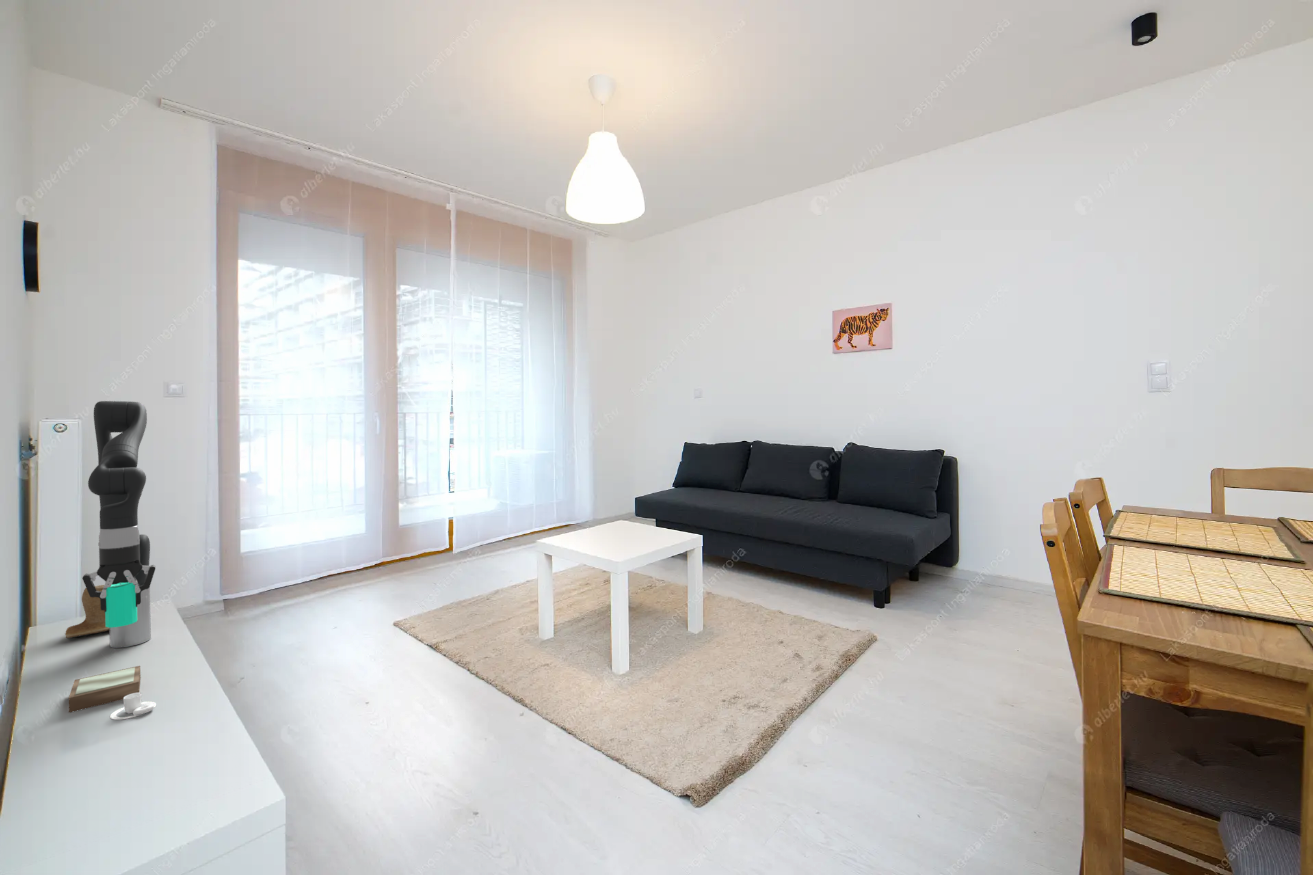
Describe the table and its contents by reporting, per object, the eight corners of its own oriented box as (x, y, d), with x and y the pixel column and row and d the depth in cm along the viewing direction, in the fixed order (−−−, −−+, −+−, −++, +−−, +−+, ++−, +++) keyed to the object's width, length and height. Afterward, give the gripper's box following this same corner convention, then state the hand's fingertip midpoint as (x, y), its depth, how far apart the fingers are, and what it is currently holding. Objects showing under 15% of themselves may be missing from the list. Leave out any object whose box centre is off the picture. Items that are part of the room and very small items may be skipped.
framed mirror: (75, 693, 137) (74, 678, 137) (140, 678, 145) (140, 664, 145) (68, 712, 128) (68, 697, 128) (139, 695, 136) (138, 680, 136)
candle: (144, 619, 144) (142, 574, 144) (119, 627, 138) (118, 581, 138) (123, 618, 145) (122, 574, 144) (98, 627, 139) (97, 580, 138)
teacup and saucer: (158, 713, 129) (157, 696, 129) (110, 727, 123) (110, 709, 123) (154, 699, 135) (154, 683, 135) (109, 712, 129) (108, 695, 129)
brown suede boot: (129, 619, 186) (128, 576, 186) (133, 628, 178) (132, 583, 178) (64, 632, 175) (63, 586, 174) (65, 642, 167) (64, 595, 166)
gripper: (156, 538, 149) (158, 599, 149) (81, 546, 139) (82, 611, 139) (157, 542, 143) (158, 606, 143) (78, 550, 133) (79, 619, 134)
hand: (121, 608), depth 141 cm, fingers closed on candle, 4 cm apart
